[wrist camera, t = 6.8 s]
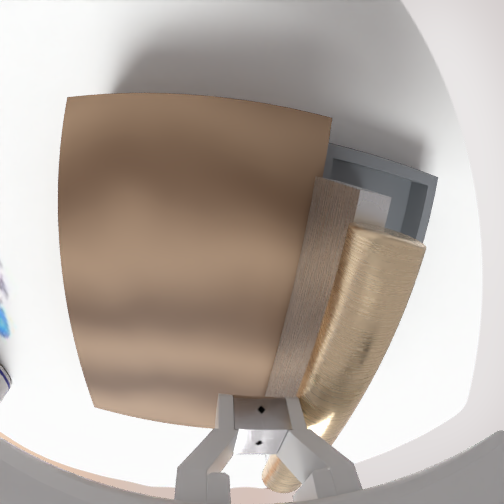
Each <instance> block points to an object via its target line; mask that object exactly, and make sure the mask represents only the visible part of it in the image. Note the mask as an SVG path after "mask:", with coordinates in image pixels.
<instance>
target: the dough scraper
mask: <svg viewBox="0 0 504 504" xmlns="http://www.w3.org/2000/svg"><path fill="white" fill-rule="evenodd" d="M390 202H391V197H388V196H385V195H382V194H379V193H376V192H373V191H370V190H367V189H364V188H361V187H357V186H354V185H351V184H347V183H344V182H341V181H336V180H332V179H327V178H322V177H317V176H316V178H315V184H314V189H313V195H312V200H311V205H310V210H309V215H308V220H307V225H306V230H305V235H304V240H303V244H302V249H301V254H300V258H299V263H298V267H297V272H296V276H295V281H294V285H293V289H292V293H291V298H290V302H289V306H288V310H287V314H286V318H285V322H284V326H283V330H282V334H281V338H280V342H279V346H278V349H277V353H276V357H275V361H274V364H273V368H272V372H271V375H270V379H269V382H268V386H267V389H266V393H265V396H266V397H298V398H299V401H300V405H301V408H302V412H303V415H304V419H305V423H306V426H307V429H312V430H313V431H314V432H315V433H316V434H318V435H319V436H320V437H321V438H322V439H324V440H325V441H326V442H327V443H328V444H330V445H332V444H333V442H334V441H335V440H336V438H337V437H338V435H339V434H340V432H341V431H342V429H343V428H344V426H345V425H346V423H347V421H348V420H349V418H350V417H351V415H352V414H353V412H354V410H355V409H356V407H357V405H358V404H359V402H360V400H361V398H362V397H363V395H364V393H365V392H366V390H367V388H368V386H369V384H370V383H371V381H372V379H373V377H374V375H375V373H376V371H377V369H378V367H379V365H380V363H381V361H382V359H383V357H384V355H385V353H386V351H387V349H388V347H389V345H390V343H391V341H392V338H393V336H394V334H395V332H396V329H397V327H398V325H399V322H400V320H401V318H402V315H403V313H404V310H405V308H406V305H407V303H408V300H409V298H410V295H411V292H412V290H413V287H414V284H415V281H416V278H417V275H418V272H419V269H420V266H421V263H422V260H423V257H424V254H425V250H426V246H425V245H424V244H423V243H421V242H420V241H418V240H416V239H414V238H412V237H410V236H408V235H405V234H403V233H400V232H397V231H394V230H391V229H388V228H384V227H385V223H386V219H387V215H388V211H389V206H390ZM265 457H266V465H265V467H264V469H263V472H262V480H263V482H264V484H265V485H266V486H267V487H268V488H269V489H271V490H272V491H275V492H279V493H289V492H292V491H295V490H296V489H298V488H299V487H300V486H301V484H302V483H301V482H300V481H299V480H298V479H297V478H296V477H295V476H294V475H293V474H292V472H291V471H290V470H289V469H288V468H287V467H286V466H285V465H284V463H283V462H282V461H281V460H280V459H279V458H278V456H277V454H265Z"/></svg>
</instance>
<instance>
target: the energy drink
mask: <svg viewBox="0 0 504 504" xmlns="http://www.w3.org/2000/svg"><path fill="white" fill-rule="evenodd" d="M10 387H11V380H10V377H9V375H8V373H7V372H6V371H5V369H4V368H3V367H2V366H1V365H0V403H1V401H2V399H3V398H4V396H5V395H6V393H7V392H8V390H9V389H10Z"/></svg>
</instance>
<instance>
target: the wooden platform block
mask: <svg viewBox="0 0 504 504" xmlns="http://www.w3.org/2000/svg"><path fill="white" fill-rule="evenodd" d="M331 124H332V118H330V117H326V116H322V115H318V114H314V113H310V112H306V111H301V110H297V109H292V108H287V107H282V106H277V105H271V104H266V103H260V102H253V101H247V100H239V99H232V98H223V97H214V96H203V95H190V94H171V93H117V94H98V95H86V96H76V97H67V102H66V108H65V114H64V121H63V129H62V137H61V147H60V159H59V176H58V226H59V243H60V256H61V266H62V274H63V282H64V289H65V295H66V302H67V307H68V313H69V318H70V323H71V328H72V332H73V336H74V341H75V345H76V349H77V353H78V356H79V360H80V364H81V367H82V371H83V374H84V377H85V380H86V384H87V387H88V390H89V393H90V396H91V398H92V401H93V404H94V407H96V408H100V409H103V410H107V411H111V412H115V413H119V414H123V415H128V416H132V417H137V418H142V419H147V420H152V421H158V422H164V423H170V424H177V425H185V426H193V427H202V428H213V429H214V428H215V419H216V408H217V401H218V394H228V395H241V396H255V397H258V396H265V393H266V389H267V386H268V382H269V379H270V375H271V372H272V368H273V364H274V361H275V357H276V353H277V349H278V346H279V342H280V338H281V334H282V330H283V326H284V322H285V318H286V314H287V310H288V306H289V302H290V298H291V293H292V289H293V285H294V281H295V276H296V272H297V267H298V263H299V258H300V254H301V249H302V244H303V240H304V235H305V230H306V225H307V220H308V215H309V210H310V205H311V200H312V195H313V189H314V184H315V178H316V176H317V177H322V178H323V172H324V166H325V161H326V155H327V149H328V143H329V136H330V130H331Z"/></svg>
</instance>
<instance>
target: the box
mask: <svg viewBox="0 0 504 504" xmlns="http://www.w3.org/2000/svg"><path fill="white" fill-rule="evenodd" d="M323 178H327V179H332V180H336V181H341V182H344V183H347V184H351V185H354V186H357V187H361V188H364V189H367V190H370V191H373V192H376V193H379V194H382V195H385V196H388V197H391V202H390V206H389V211H388V215H387V219H386V223H385V227H384V228H388V229H391V230H394V231H397V232H400V233H403V234H405V235H408V236H410V237H412V238H414V239H416V240H418V241H420V242H421V243H423V241H424V237H425V233H426V230H427V226H428V222H429V218H430V214H431V209H432V205H433V200H434V196H435V191H436V186H437V180H438V177H436V176H433V175H431V174H428V173H425V172H423V171H420V170H417V169H414V168H412V167H409V166H406V165H403V164H400V163H397V162H394V161H391V160H388V159H385V158H382V157H378V156H375V155H372V154H368V153H365V152H361V151H358V150H354V149H351V148H347V147H343V146H339V145H335V144H331V143H328V149H327V155H326V161H325V166H324V172H323Z"/></svg>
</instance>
